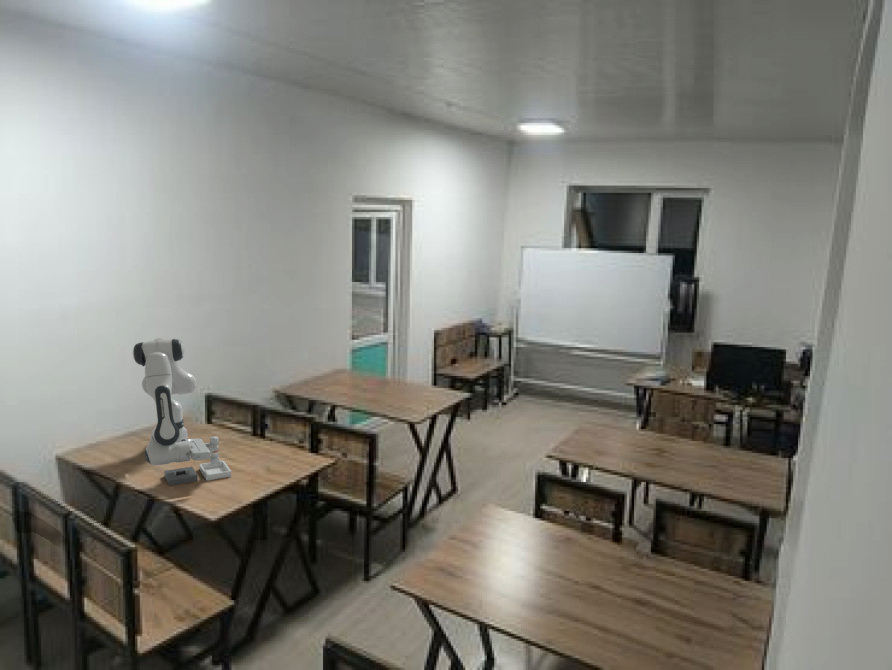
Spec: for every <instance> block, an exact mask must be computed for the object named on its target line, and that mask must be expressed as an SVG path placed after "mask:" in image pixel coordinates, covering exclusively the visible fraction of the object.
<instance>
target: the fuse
mask: <svg viewBox="0 0 892 670" xmlns="http://www.w3.org/2000/svg"><path fill="white" fill-rule="evenodd" d="M209 443H210V445H211V448H212V447H215V446H217V447H218V451H214V452H212V453H210V454H211V458H210V459H209V460H210V462H211V464H217V463H219V461H220V456H219V455H220V454H219V451H220V450H219V444H220V441H219V436H210V437H209Z"/></svg>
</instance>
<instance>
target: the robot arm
mask: <svg viewBox="0 0 892 670" xmlns="http://www.w3.org/2000/svg"><path fill="white" fill-rule="evenodd" d="M185 351H186V350H185V346H184V344H183V342H182V340H180V339H176V338H172V339H167V338H165V337H157V338H155V339H154V340H149V341H145V342H143V341H142V342H138V343H135V344H134V346H133V349H132V357H133V360H134V361H135V363H136V364H138V365H140V366H142V367H144V377H143V379H142V382H141V387H142V390H143V391H144V393H146V394H147V395H149V396H150V398H152V399H153V401H154V403H155V408H156V417H157V423H156V426H155V427H154V428H153V429H152V430H151V435H150V439H149V440H148V443H147V446H146V447H145V449H144V456H145V459H146V461H147V463H148V464H149V465H151V466H162V465H163V466H164V465H168V464H173V463H183V462H184V463H185V462H190V461H191V459H192V460H193V461H205V460H210V458H211V453H212V452H214V451H218V448H219V446H218V447H217V446H215V447H212V448H211V445H210V442H204V440H203V439H202V438H190V439H189V437H188V430H187V428H186V427H185V425H184V423H185V421H184V418H183V406H182V403H180V401H178V400H175V399H174V398H172V395H187V394H192V393H193V392H194V391H195V390H196V388H197V384H198V383H197V378H196V377H195V376H194V374H193V373H189V372H188V371H185V370H184V369H182V367H181V366H180V364H179V363H178V362H179V361H181V360H182V359H183V358H184V355H185ZM218 452H219V451H218Z"/></svg>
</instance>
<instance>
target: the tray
mask: <svg viewBox="0 0 892 670" xmlns="http://www.w3.org/2000/svg"><path fill="white" fill-rule="evenodd" d="M198 464H199V468H198V469H199V471H200V472H201V474H202V476H203V477H204V479H205V481H207V482H208V481H211V480H217V479H218V480H219V479H224V478H232V469H230V467H229V466H228V464H227V463H226V462H225V461H224V460H219V463H217V464H211V462H204V463H203V462H202V463H198Z"/></svg>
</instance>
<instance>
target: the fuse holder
mask: <svg viewBox="0 0 892 670" xmlns="http://www.w3.org/2000/svg"><path fill="white" fill-rule="evenodd" d="M163 473H164V478H165V480H166V482H167V484H168V486H170V487H171V486H175V485H181V484H189V483H193V482H198V479H199V477H198V476H199V475H198V474H197V472H196V470H195V469H194V467H193V466H187V467H181V468H173V469H166V470H164V472H163Z"/></svg>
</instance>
